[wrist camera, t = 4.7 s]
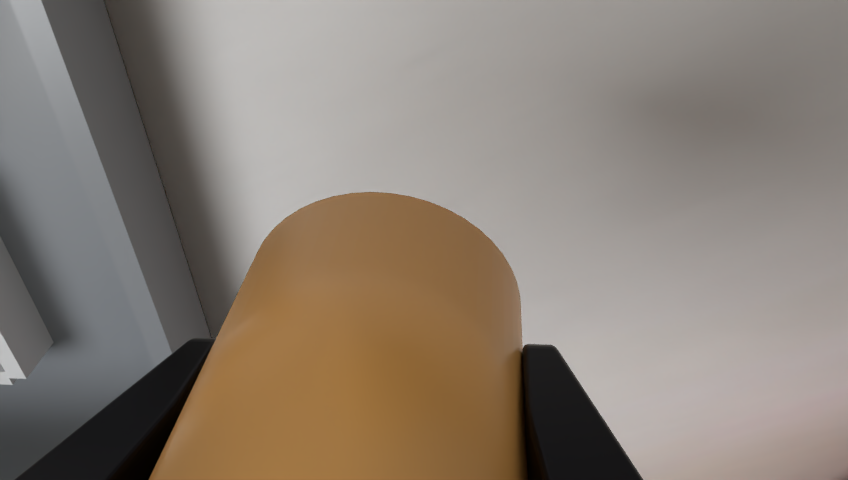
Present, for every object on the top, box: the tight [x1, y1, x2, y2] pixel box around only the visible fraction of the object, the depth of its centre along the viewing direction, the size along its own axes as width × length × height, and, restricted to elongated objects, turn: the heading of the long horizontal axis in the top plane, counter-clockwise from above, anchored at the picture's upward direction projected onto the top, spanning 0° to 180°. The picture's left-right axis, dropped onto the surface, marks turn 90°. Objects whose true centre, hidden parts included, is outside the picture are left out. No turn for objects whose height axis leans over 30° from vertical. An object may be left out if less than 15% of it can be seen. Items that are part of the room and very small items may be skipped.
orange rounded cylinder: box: [149, 192, 528, 480], centre depth 8 cm, size 4×4×5 cm
